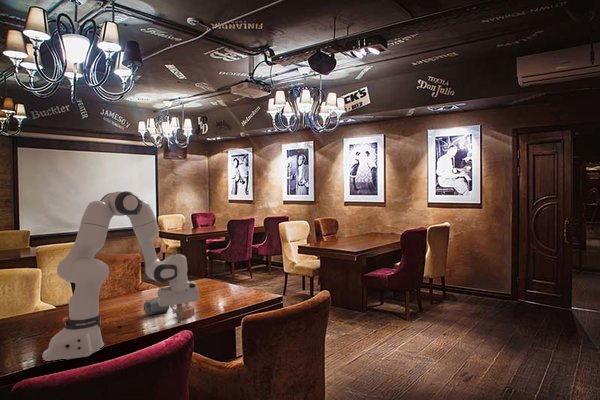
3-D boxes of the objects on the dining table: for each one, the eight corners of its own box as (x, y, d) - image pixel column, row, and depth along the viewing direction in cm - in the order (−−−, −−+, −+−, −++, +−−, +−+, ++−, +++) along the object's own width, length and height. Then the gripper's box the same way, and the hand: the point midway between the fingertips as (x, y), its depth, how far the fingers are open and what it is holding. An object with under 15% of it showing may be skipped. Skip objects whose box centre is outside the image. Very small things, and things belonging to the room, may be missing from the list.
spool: (146, 312, 206) (147, 293, 211) (140, 317, 212) (141, 298, 217) (172, 313, 214) (172, 295, 219) (165, 318, 220) (166, 300, 225)
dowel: (178, 322, 200) (177, 302, 199) (176, 321, 202) (176, 301, 201) (182, 321, 201) (182, 302, 201) (181, 320, 203) (181, 300, 203)
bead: (179, 319, 205) (179, 311, 205) (174, 314, 212) (174, 307, 212) (196, 315, 209) (195, 308, 209) (191, 311, 217) (191, 304, 217)
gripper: (158, 289, 193) (159, 317, 193) (200, 283, 203) (200, 310, 204) (156, 287, 198) (156, 314, 199) (196, 281, 209) (197, 307, 209)
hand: (179, 312), depth 201 cm, fingers open, 4 cm apart
